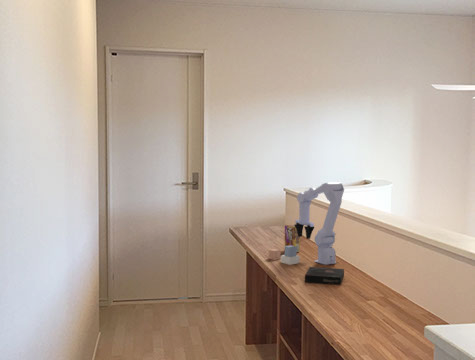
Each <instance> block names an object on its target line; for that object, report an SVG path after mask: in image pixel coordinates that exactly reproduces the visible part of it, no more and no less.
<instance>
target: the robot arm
mask: <svg viewBox="0 0 475 360" xmlns="http://www.w3.org/2000/svg"><path fill="white" fill-rule="evenodd" d="M344 191H345V188H344V185H343V183H342V182H341V181H337V182H324V183H322V184H320V186H318V187H316V188H315V187H309V189H307V190H304V192H299V193H297V196H296V199H297V202H298V203H299V204H298V207H299V208H298V210H299V211H298V213H299V214H298V217H299V219H295V220H294V224H293V225H294V226H295V228H296V230H297V233H298V237H300V238H301V237H303V231H304V230H305V237H306V240H310V239H311V236H312V235H313V234H312V233H313V231H314V230H315V223H314V222H312V221H310V206H311V203H312V200H314V199H317V198H318V197H319V195H320V194H324V196H325V198H326V199H327V201H329V202H330V203H329V204H328V210H327V211H326V215H325V218H324V221H323V225H322V228H320V229H319V230H318V231H317V233H316V234H315V236H314V242H315V244H316V246H317V260H314V262H315V263H318V264H320V265H325V266H326V265H333V264H337V261H336V250H335V248H333V247H332V246H333V244H335V241H336V238H335V237H336V233H335V230H334V229H335V223H336V220H337V218H338V214H339V211H340V208H341V205H342V202H343V201H342V200H343V199H342V198H343V195H344Z"/></svg>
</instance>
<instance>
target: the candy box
mask: <svg viewBox="0 0 475 360" xmlns="http://www.w3.org/2000/svg"><path fill="white" fill-rule="evenodd" d="M294 225H295V224H285V225H284V247H285V246H290V245H292V246H296V253H301V252H300V248H301V246H300V242H301V241H300V240H301V237H298V233H297V230H296V228H295V226H294Z"/></svg>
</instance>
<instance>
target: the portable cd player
mask: <svg viewBox="0 0 475 360" xmlns="http://www.w3.org/2000/svg"><path fill="white" fill-rule="evenodd" d="M344 276H345V269H344V268H334V267H333V268H331V267H318V266H316V267H315V266H310V267H309V268H308V269H307V271H306V273H305V274H304V283H305V284H307V283H308V284H321V285H333V286H334V285H335V286H341V285H342V282H343V279H344Z"/></svg>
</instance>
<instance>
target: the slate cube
mask: <svg viewBox="0 0 475 360" xmlns="http://www.w3.org/2000/svg"><path fill="white" fill-rule="evenodd" d="M284 255H285V256H288V257H293V256H296V255H297V252H296V246H292V245H290V246H285V245H284Z"/></svg>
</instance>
